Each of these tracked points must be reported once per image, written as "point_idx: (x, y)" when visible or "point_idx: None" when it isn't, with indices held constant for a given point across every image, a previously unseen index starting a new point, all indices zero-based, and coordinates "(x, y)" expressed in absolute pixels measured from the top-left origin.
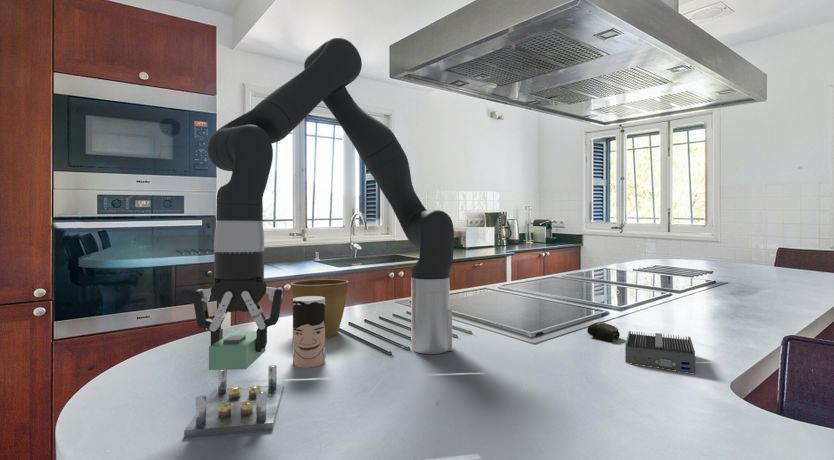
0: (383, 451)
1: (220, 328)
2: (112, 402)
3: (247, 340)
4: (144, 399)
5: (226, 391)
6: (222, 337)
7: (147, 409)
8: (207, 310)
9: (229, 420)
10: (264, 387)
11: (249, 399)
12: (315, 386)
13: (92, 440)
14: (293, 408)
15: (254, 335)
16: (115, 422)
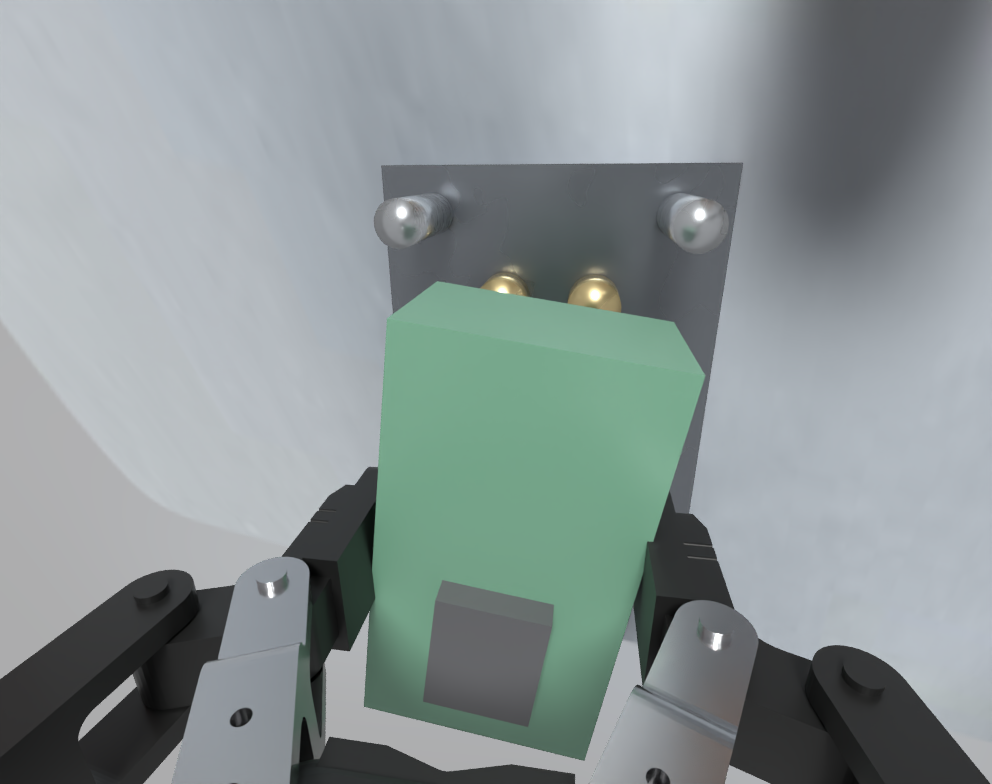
0: (988, 737)
1: (327, 597)
2: (5, 148)
3: (572, 643)
4: (108, 138)
5: (451, 218)
6: (366, 520)
7: (187, 261)
8: (82, 705)
9: None
10: (634, 192)
11: None
12: (928, 118)
13: (172, 463)
14: (763, 393)
15: (609, 518)
16: (152, 355)
